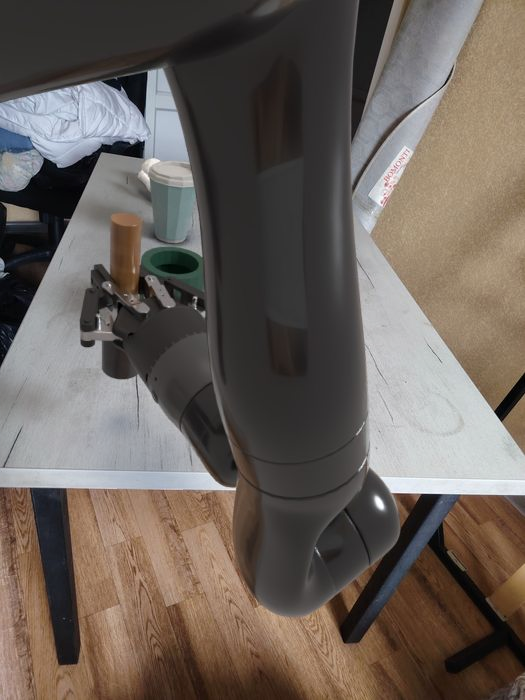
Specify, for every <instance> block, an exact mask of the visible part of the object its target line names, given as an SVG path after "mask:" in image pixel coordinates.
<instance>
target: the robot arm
mask: <svg viewBox="0 0 525 700" xmlns="http://www.w3.org/2000/svg"><path fill="white" fill-rule="evenodd" d="M359 6H360V0H0V104H2V103H6V102H9V101H14V100H17V99H22V98H26V97H31V96H35V95H39V94H45V93H49V92H54V91H59V90H64V89H69V88H73V87H78V86H84V85H87V84H93V83H97V82H102V81H107V80H112V79H117V78H122V77H127V76H132V75H137V74H142V73H146V72H151V71H152V72H153V71H156V70H157V71H158V70H161V69H162V71H163V73H164V74H163V75H164V76H165V78H166V81H167V85H168V87H169V89H170V93H171V97H172V100H173V102H174V105H175V108H176V113H177V116H178V119H179V124H180V127H181V130H182V135H183V139H184V144H185V148H186V152H187V157H188V161H189V162H188V163H190V167H191V172H192V177H193V183H194V189H195V195H196V201H195V202H196V207H197V211H198V220H199V234H200V245H201V257H202V260H203V280H204V292H203V291H201V290H199V289H197V288H195V287H193V286H191V285H189V284H187V283H185V282H183V281H181V280H179V279H177V278H175V277H173V276H166V277H164V280H158V279H157V277H155V276H153V275H150V274H149V273H148V272H147V271H146V269H145V268H144V267H143V266H142V265H141V264H140V273H139V292H138V296H140V295H144V299H139V298H138V299H137V298H135V297H134V296H133V295H132V294H131V293H130V292H129V291H128V290H121V289H120V288H119V287H118V286H117V285H116V284H115V283H114V279H113V278H112V277H111V276H110V272H109V271H108V270H107V269H106V267H105V266H104V265H103V264H102V263H96V264H94V265H93V269H90V286H91V287H87V288H86V289H85V292H84V296H83V301H82V306H81V312H80V316H79V341H80V346H81V347H82V348H86V349H87V348H88V349H89V348H92V347H94V346H95V344H96V341H101V342H102V341H112V343H113V344H114V345H115V346H116V347H117V348H119V349H121V350H123V351H124V352H125V353H126V354H127V356H128V358H129V360H130V362H131V364H132V366H133V367H134V369H135V370H136V372H137V373H138V375H137V376H139V378H140V379H141V381H142V382H143V384H144V386H146V388H147V389H148V391H149V393H150V394H151V397H152V399H153V401H154V402H155V403H156V404H157V405H158V406H159V408H160V409H161V410H162V412H163V413H164V416H166V417H167V419H168V420H169V421H170V422H171V423H172V424H173V425H174V426H175V427H176V428H177V429H178V430H179V432H180V433H181V434H182V436H183V437H184V439H185V440H186V441H187V443H188V445H189V446H190V448H191V449H192V450H193V452H194V453H195V455H196V457H197V458H198V459H199V461H200V462H201V464H202V465H203V467H204V468H205V470H206V471H207V472H208V474H209V475H210V476H211V478H212V479H213V480H214V481H215V482H216V483H218V484H219V485H221V486H222V487H225V488H230V489H231V488H232V489H233V488H234V489H235V493H234V501H233V502H234V503H233V510H232V511H233V512H232V521H231V523H232V524H231V528H232V529H231V531H232V532H231V533H232V536H231V537H232V545H233V550H234V552H233V553H234V556H235V561H236V564H237V567H238V570H239V573H240V575H241V578H242V580H243V582H244V584H245V586H246V587H247V589H248V591H249V592H250V594H251V595H252V596H253V597H254V599H255V600H256V601H257V602H258V603H259V604H260V605H261V606H262V607H264V608H265V609H266V610H267V611H269V612H271V613H273V614H275V615H277V616H280V617H284V618H291V619H292V618H293V619H295V618H296V619H297V618H303V617H307V616H308V615H311V614H313V613H314V612H315V613H316V611H318V610H319V609H321V608H322V607H324V605H326V604H327V603H328V602H329V601H331V600H332V599H333V598H334V597H335V596H337V595H338V594H339V593H340V592H342V591H343V590H344V589H345V588H347V587H348V586H349V585H351V583H352V582H354V581H356V580H357V578H359V577H360V576H362V575H363V574H364V573H365V572H366V571H368V569H370V568H371V567H372V566H373V565H375V564H376V563H377V562H379V561H381V559H382V558H383V557H385V555H387V554H388V553H390V551H392V550H393V548H394V547H395V546H396V544H397V542H398V540H399V538H400V535H401V527H402V526H401V525H402V523H401V516H400V514H401V513H400V511H399V508H398V505H397V501H396V499H395V497H394V495H393V494H392V492H391V489H390V488H389V487H388V486H387V484H386V482H384V480H383V479H382V478H381V477H380V475H379V474H378V473H377V472H375V471H374V470H373V469H372V468H371V467H370V461H371V432H370V431H371V430H370V403H369V402H370V398H369V397H370V396H369V380H368V366H367V356H366V355H367V353H366V344H365V334H364V333H365V332H364V324H363V315H362V305H361V303H362V302H361V293H360V281H359V272H358V271H359V270H358V260H357V259H358V258H357V248H356V238H355V223H354V222H355V221H354V207H353V184H352V183H353V182H352V99H353V97H352V96H353V75H354V73H353V71H354V56H355V45H356V35H357V25H358V14H359ZM175 290H177V291H179V292H180V293H181V297H179V296H177V295H175ZM101 310H104V311H106V312H107V313H108V314H109V315H110V314H111V316H112V318H113V321H114V324H113V326H112V327H111V326H108V325H107V324H108V323H106V320H105V319H103V318H102V314H100V311H101Z"/></svg>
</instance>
